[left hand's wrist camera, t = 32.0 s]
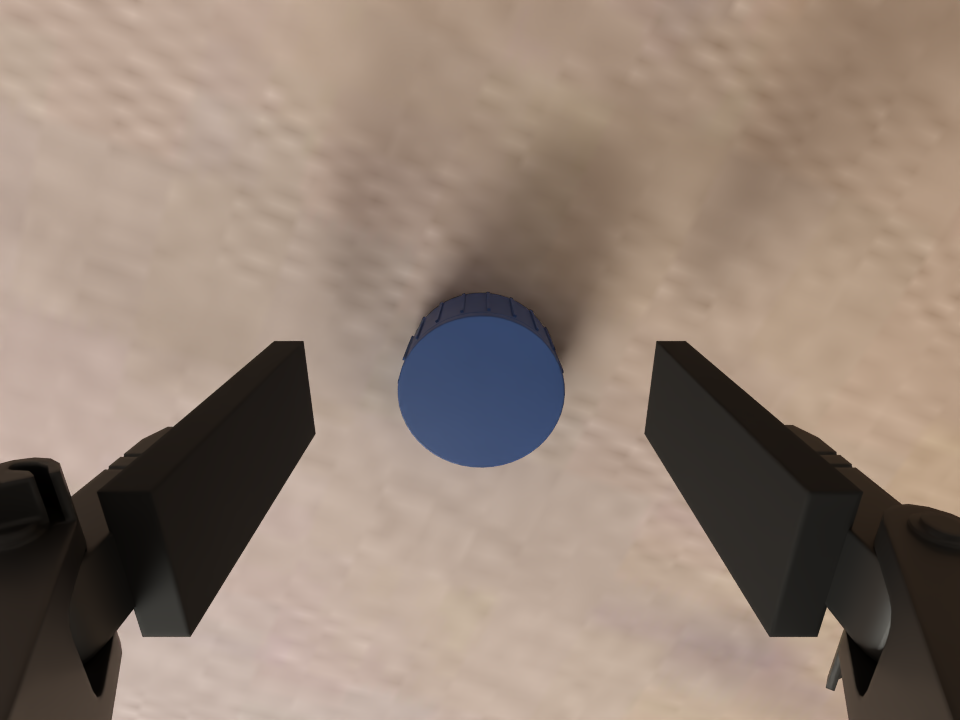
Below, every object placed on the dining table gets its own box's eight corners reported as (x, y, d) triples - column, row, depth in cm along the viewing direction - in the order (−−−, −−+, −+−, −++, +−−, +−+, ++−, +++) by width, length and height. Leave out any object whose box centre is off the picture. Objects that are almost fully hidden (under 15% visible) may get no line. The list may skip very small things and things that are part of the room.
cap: (530, 440, 16) (538, 483, 14) (396, 410, 16) (382, 450, 14) (572, 311, 15) (589, 337, 12) (425, 274, 14) (414, 294, 12)
